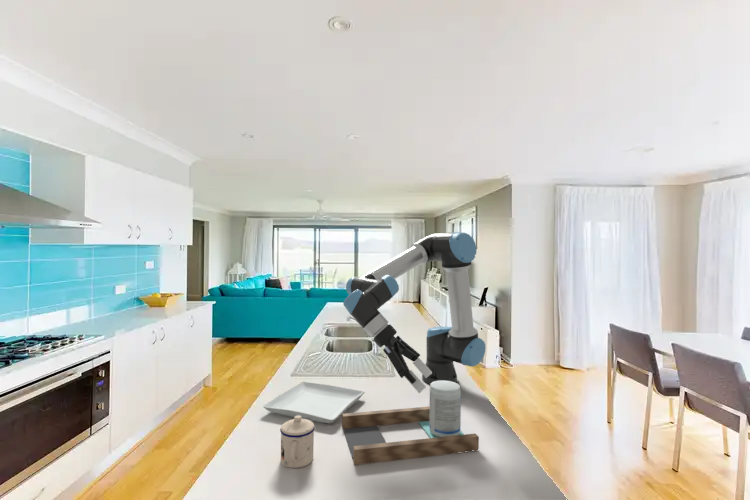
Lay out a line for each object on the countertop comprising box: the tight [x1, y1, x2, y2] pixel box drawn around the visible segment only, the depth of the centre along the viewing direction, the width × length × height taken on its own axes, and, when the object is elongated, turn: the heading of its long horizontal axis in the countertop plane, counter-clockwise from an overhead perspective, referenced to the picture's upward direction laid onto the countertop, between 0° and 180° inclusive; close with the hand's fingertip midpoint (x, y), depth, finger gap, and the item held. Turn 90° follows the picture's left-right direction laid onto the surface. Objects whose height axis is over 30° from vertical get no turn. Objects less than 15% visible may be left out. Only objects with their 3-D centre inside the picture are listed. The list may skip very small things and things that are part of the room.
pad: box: [418, 421, 465, 438], centre depth 119 cm, size 11×17×1 cm, turn 13°
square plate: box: [262, 381, 365, 424], centre depth 138 cm, size 27×27×4 cm
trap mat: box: [342, 426, 387, 460], centre depth 114 cm, size 11×17×1 cm, turn 13°
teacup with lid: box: [279, 415, 315, 469], centre depth 102 cm, size 12×9×12 cm
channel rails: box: [341, 405, 480, 466], centre depth 117 cm, size 36×22×4 cm, turn 103°
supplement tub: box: [429, 380, 462, 437], centre depth 120 cm, size 10×10×15 cm
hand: (426, 382), depth 121 cm, fingers open, 13 cm apart
